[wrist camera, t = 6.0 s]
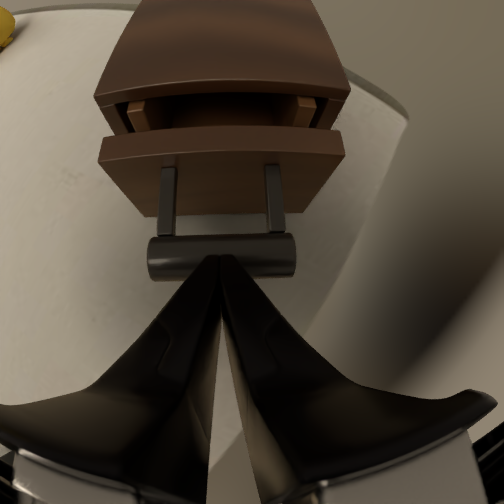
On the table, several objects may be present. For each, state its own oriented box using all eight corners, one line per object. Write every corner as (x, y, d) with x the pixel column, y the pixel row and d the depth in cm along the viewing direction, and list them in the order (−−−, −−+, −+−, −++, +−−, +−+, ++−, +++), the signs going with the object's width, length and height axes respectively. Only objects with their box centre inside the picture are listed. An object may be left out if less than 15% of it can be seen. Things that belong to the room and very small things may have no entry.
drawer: (309, 285, 15) (364, 269, 9) (142, 291, 15) (83, 277, 8) (282, 71, 19) (298, 5, 12) (165, 73, 18) (152, 8, 11)
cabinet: (303, 177, 18) (352, 89, 9) (143, 181, 17) (92, 96, 8) (282, 53, 20) (299, -21, 12) (167, 55, 19) (154, -19, 11)
